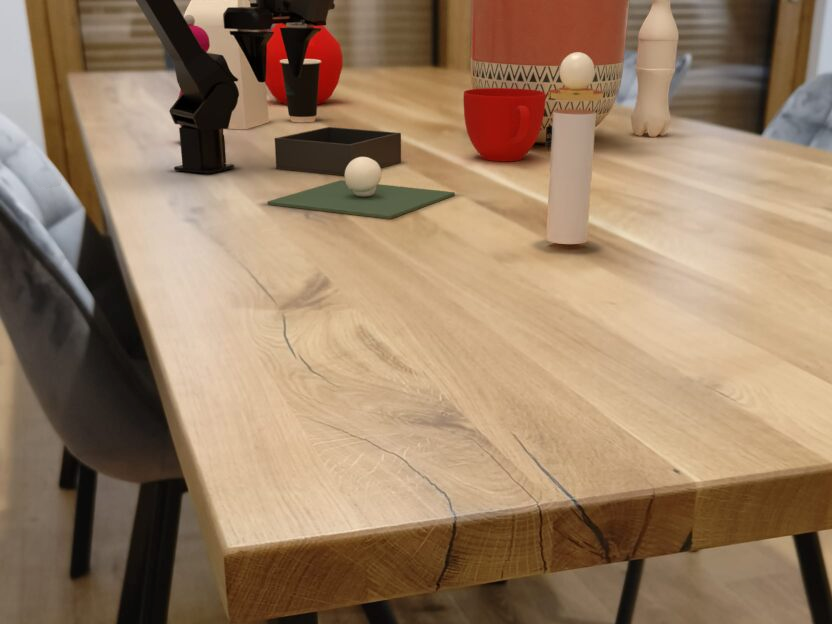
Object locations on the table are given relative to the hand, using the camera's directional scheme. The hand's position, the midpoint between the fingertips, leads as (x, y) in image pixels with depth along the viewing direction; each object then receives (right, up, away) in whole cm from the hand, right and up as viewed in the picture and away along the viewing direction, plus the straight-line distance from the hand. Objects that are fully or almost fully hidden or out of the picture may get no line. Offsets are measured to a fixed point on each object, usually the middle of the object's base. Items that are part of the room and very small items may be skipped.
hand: (279, 79), depth 167 cm
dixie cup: (-3, +11, +51) cm, 52 cm away
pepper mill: (-17, -2, +23) cm, 29 cm away
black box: (+9, -12, +3) cm, 15 cm away
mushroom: (+14, -24, -21) cm, 35 cm away
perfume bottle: (+38, -36, -44) cm, 68 cm away
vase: (-6, +25, +78) cm, 83 cm away
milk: (-16, +9, +45) cm, 48 cm away
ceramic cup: (+35, -9, +10) cm, 37 cm away
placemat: (+14, -24, -21) cm, 35 cm away
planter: (+42, 0, +30) cm, 52 cm away
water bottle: (+63, +5, +39) cm, 74 cm away
